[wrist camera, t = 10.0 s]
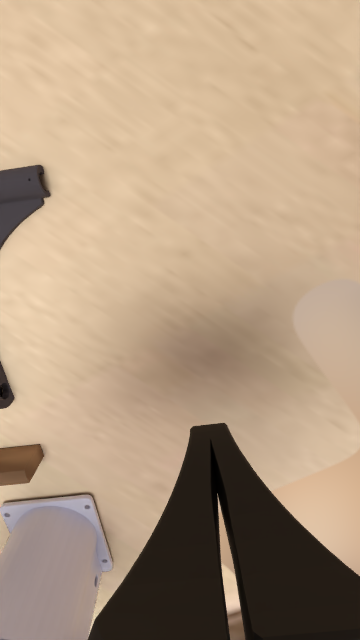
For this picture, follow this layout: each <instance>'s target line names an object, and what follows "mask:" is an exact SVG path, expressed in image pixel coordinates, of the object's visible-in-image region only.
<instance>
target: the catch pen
mask: <svg viewBox="0 0 360 640" xmlns="http://www.w3.org/2000/svg"><path fill="white" fill-rule="evenodd" d="M43 457H44V455H43V452H42V449H41V447H40V444H39V445H30V446H20V447H11V448H2V449H0V486H4V485H13V484H23V483H29V482H30V480H31V479H32V477H33V475H34V473H35V471H36V470H37V468H38V466H39V464H40V462H41V461H42V459H43Z"/></svg>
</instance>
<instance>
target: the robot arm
mask: <svg viewBox="0 0 360 640" xmlns="http://www.w3.org/2000/svg"><path fill="white" fill-rule="evenodd" d="M217 493H218V496H217ZM218 497H219V502H220V506H221V511H222V515H223V519H224V524H225V528H226V532H227V536H228V541H229V545H230V549H231V554H232V558H233V564H234V569H235V574H236V581H237V587H238V594H239V600H240V607H241V613H242V620H243V626H244V633H245V639H246V640H360V576H358V574H356V573H355V572H354V571H353V570H351V569H350V568H349V567H348V566H346V565H345V564H344V563H343V562H342V561H340V560H339V559H338V558H337V557H336V556H335V555H334V554H333V553H331V552H330V551H329V550H328V549H327V548H326V547H324V546H323V545H322V544H321V543H320V542H319V541H318V540H317V539H316V538H315V537H314V536H313V535H312V534H311V533H310V532H309V531H308V530H306V529H305V528H304V527H303V526H302V525H301V524H300V523H299V522H298V521H297V520H296V519H295V518H294V517H293V516H292V515H291V514H290V512H289V511H288V510H287V509H286V508H285V507H284V506H283V505H282V504H281V503H280V502H279V501H278V499H277V498H276V497H275V496H274V495H273V494H272V492H271V491H270V490H269V489H268V488H267V486H266V485H265V484H264V483H263V481H262V480H261V479H260V478H259V476H258V475H257V474H256V472H255V471H254V470H253V468H252V467H251V465H250V464H249V463H248V461H247V460H246V458H245V457H244V455H243V454H242V452H241V451H240V449H239V447H238V446H237V444H236V442H235V441H234V439H233V437H232V435H231V433H230V431H229V429H228V427H227V425H226V424H225V423H218V424H210V425H201V426H193V427H192V428H191V429H190V438H189V443H188V447H187V451H186V455H185V458H184V461H183V464H182V468H181V471H180V474H179V476H178V479H177V481H176V484H175V487H174V489H173V492H172V494H171V497H170V499H169V501H168V503H167V506H166V508H165V510H164V512H163V514H162V516H161V518H160V520H159V522H158V524H157V526H156V527H155V529H154V531H153V533H152V535H151V537H150V539H149V540H148V542H147V544H146V546H145V547H144V549H143V551H142V552H141V554H140V555H139V557H138V558H137V560H136V562H135V563H134V565H133V566H132V568H131V569H130V571H129V573H128V574H127V576H126V577H125V579H124V580H123V582H122V583H121V585H120V586H119V587H118V589H117V590H116V591H115V593H114V594H113V596H112V597H111V598H110V600H109V601H108V602H107V604H106V605H105V607H104V608H103V609H102V611H101V612H100V613H99V615H98V616H97V617H96V619H95V621H94V624H93V626H92V629H91V632H90V635H89V631H90V626H91V622H92V617H93V612H94V607H95V603H96V598H97V593H98V588H99V584H100V579H101V574H102V572H105V571H110V570H112V568H113V562H112V558H111V555H110V552H109V549H108V545H107V542H106V539H105V536H104V533H103V529H102V526H101V523H100V520H99V516H98V513H97V510H96V507H95V503H94V500H93V498H92V496H90V495H78V496H68V497H58V498H48V499H38V500H28V501H18V502H8V503H3V504H2V505H1V507H0V512H1V515H2V517H3V519H4V521H5V523H6V525H7V527H8V530H9V532H10V536H9V538H8V540H7V542H6V544H5V546H4V548H3V549H2V551H1V553H0V640H230V634H229V626H228V618H227V610H226V602H225V594H224V586H223V578H222V568H221V555H220V535H219V516H218ZM88 636H89V637H88Z"/></svg>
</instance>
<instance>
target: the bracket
mask: <svg viewBox="0 0 360 640" xmlns="http://www.w3.org/2000/svg"><path fill="white" fill-rule="evenodd" d="M41 174H44V169H43V167H42V166H41V165H35V166H28V167H22V168H15V169H8V170H2V171H0V248H1V247H2V245H3V244H4V242H5V241H6V239H7V238H8V237H9V235H10V234H11V233H12V232H13V231H14V229H15V228H16V227H17V226H18V225H19V224H20V223H21V222H22V221H24V220H25V219H26V218H27V217H28V216H30V215H31V214H32V213H33V212H35V211H36V210H37V209H39V208H40V207H42V206H43V205H44V201H43V197H48V196H50V193H49V191H45V190H44V189H43V187H42V185H41V182H40V178H39V175H41ZM1 386H2V388H3V394H2V397H1V396H0V409H3V408H7V407H8V406H9V405H10V404H11V403H12V402H13V399H14V396H13V393H12V391H11V388H10V385H9V383H8V380H7V377H6V375H5V372H4V370H3V367H2V364H1V362H0V387H1ZM0 393H1V390H0Z"/></svg>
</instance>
